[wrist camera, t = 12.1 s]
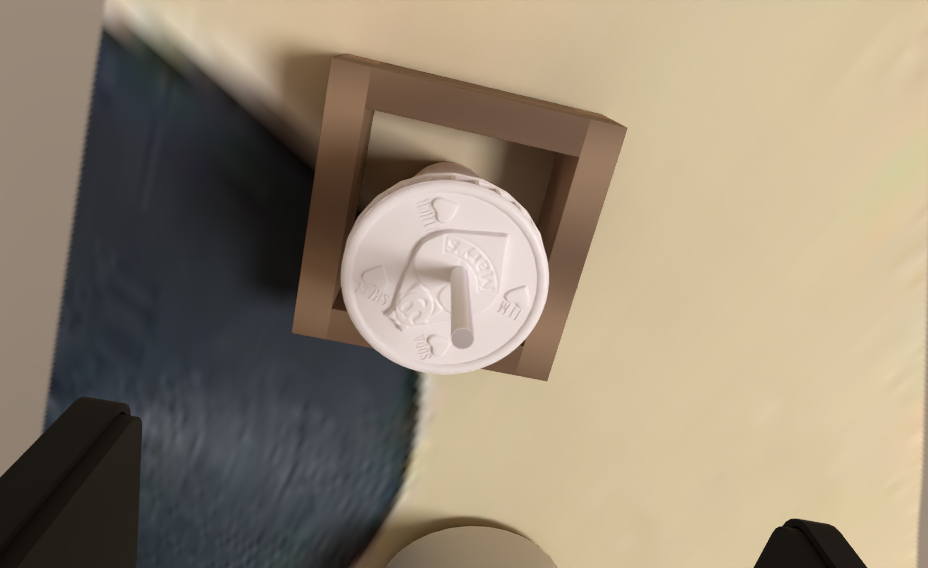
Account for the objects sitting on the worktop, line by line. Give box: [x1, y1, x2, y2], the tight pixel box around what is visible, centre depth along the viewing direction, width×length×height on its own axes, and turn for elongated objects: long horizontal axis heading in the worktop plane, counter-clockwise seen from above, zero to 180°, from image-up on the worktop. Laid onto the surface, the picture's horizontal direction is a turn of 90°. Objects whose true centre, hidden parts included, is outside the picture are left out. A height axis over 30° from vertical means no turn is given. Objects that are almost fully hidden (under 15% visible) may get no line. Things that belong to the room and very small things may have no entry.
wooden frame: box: [292, 54, 627, 381], centre depth 26 cm, size 11×11×4 cm
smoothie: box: [341, 162, 549, 374], centre depth 21 cm, size 6×6×14 cm
